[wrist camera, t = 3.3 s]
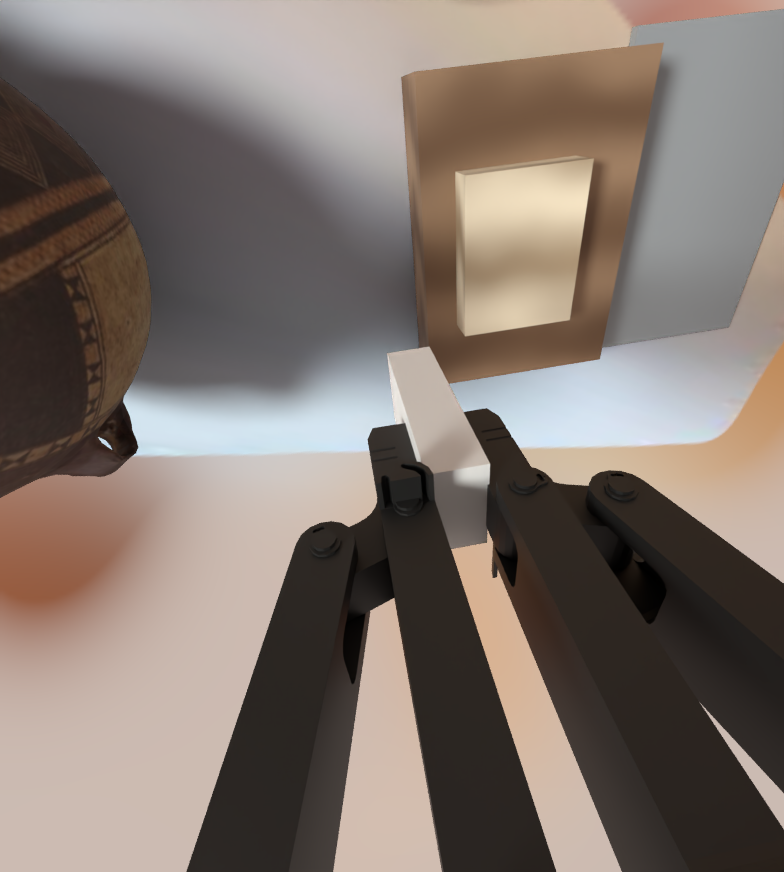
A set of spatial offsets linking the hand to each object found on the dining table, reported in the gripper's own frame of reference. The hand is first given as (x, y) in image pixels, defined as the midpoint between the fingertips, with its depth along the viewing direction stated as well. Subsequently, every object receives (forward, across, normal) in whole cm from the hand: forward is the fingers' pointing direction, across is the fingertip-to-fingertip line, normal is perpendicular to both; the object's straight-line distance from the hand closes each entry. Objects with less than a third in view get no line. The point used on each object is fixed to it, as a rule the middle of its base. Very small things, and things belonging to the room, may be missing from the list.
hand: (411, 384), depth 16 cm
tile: (+14, +9, 0) cm, 17 cm away
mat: (+18, +23, 0) cm, 30 cm away
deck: (+18, +10, 0) cm, 21 cm away
